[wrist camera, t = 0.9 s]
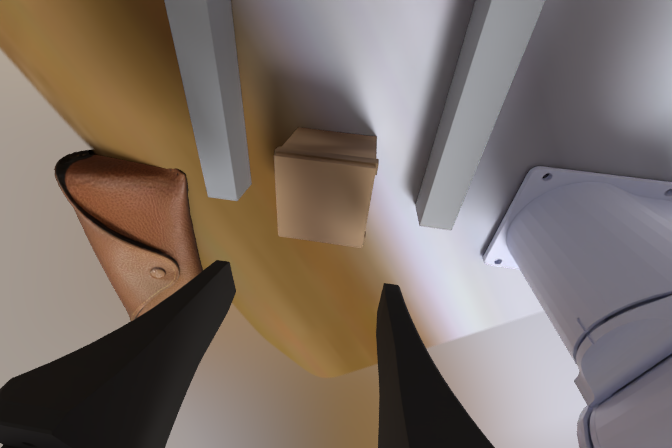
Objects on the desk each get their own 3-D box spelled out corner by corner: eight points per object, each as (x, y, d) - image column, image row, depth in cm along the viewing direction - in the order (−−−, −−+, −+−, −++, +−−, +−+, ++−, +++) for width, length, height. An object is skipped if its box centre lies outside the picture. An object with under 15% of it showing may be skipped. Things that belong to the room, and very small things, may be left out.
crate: (378, 134, 17) (378, 166, 13) (366, 205, 20) (363, 249, 16) (296, 125, 17) (271, 153, 13) (297, 196, 20) (276, 237, 16)
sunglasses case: (220, 316, 30) (157, 361, 26) (186, 282, 33) (125, 317, 29) (185, 165, 20) (68, 196, 15) (141, 137, 23) (33, 156, 19)
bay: (578, -159, 10) (644, -221, 8) (443, 209, 19) (453, 235, 17) (162, -182, 11) (99, -244, 8) (225, 180, 20) (204, 200, 18)
